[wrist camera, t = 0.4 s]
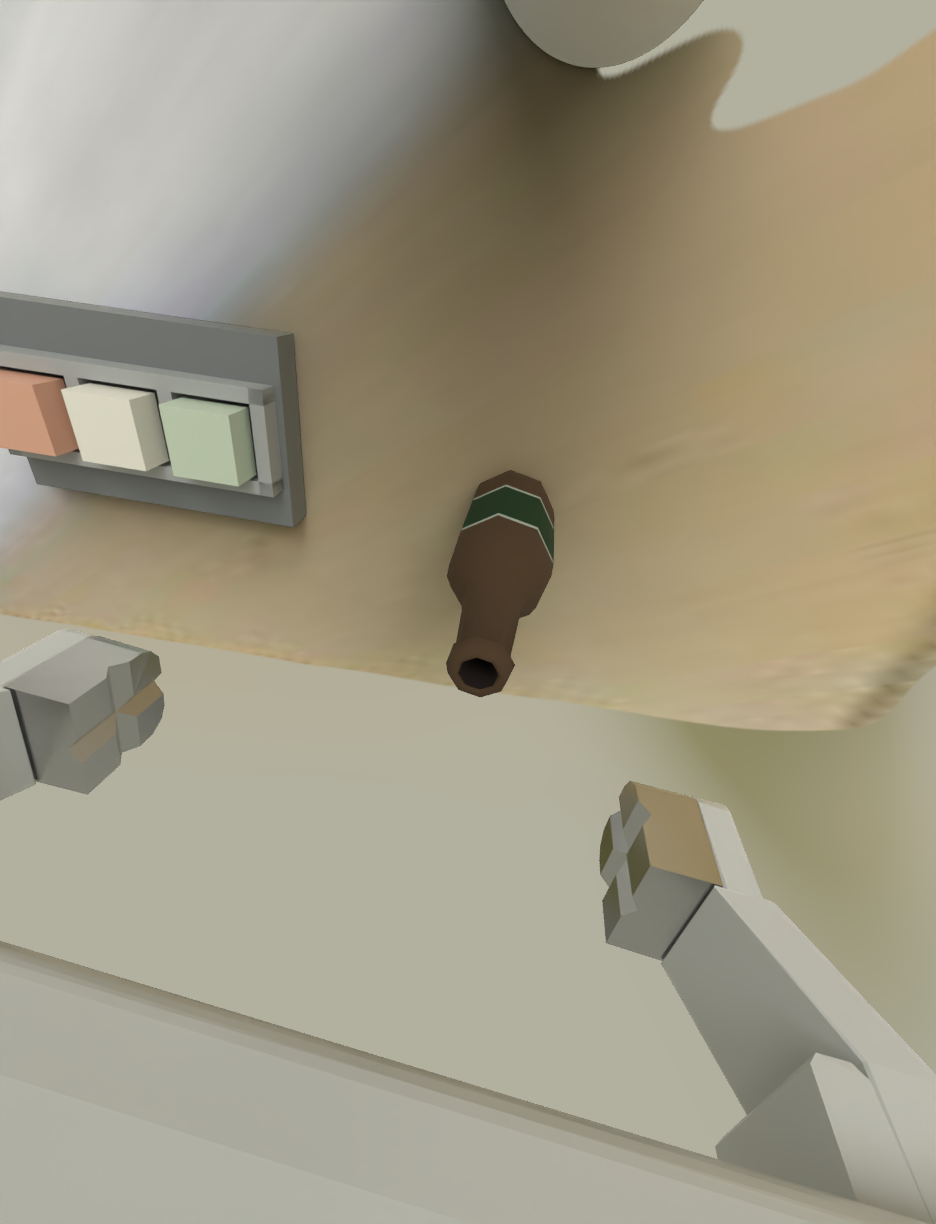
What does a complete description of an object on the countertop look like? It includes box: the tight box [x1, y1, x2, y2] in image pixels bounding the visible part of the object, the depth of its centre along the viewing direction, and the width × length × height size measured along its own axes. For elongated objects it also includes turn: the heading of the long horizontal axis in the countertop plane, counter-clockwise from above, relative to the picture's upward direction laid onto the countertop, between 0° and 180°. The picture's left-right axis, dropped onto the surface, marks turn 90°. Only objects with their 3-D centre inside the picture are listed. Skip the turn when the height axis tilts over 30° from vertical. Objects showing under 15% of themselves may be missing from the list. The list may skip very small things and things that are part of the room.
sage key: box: [159, 397, 256, 487], centre depth 42 cm, size 6×6×3 cm
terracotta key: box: [0, 369, 79, 456], centre depth 43 cm, size 6×6×3 cm
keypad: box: [0, 291, 306, 527], centre depth 45 cm, size 16×26×5 cm, turn 84°
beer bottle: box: [446, 470, 554, 697], centre depth 38 cm, size 8×8×24 cm
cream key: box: [61, 383, 169, 471], centre depth 42 cm, size 6×6×3 cm
